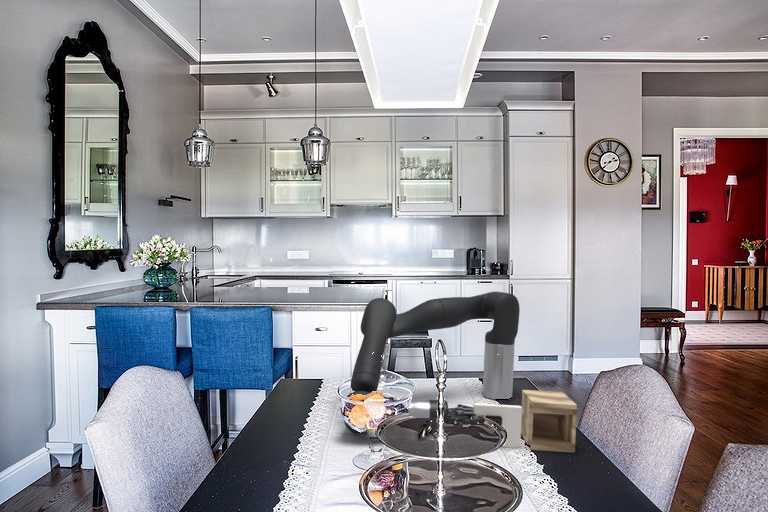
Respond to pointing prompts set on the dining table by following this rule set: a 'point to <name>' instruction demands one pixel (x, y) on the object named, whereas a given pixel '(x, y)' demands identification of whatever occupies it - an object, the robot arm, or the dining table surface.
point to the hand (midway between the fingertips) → (500, 419)
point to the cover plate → (505, 420)
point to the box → (548, 421)
